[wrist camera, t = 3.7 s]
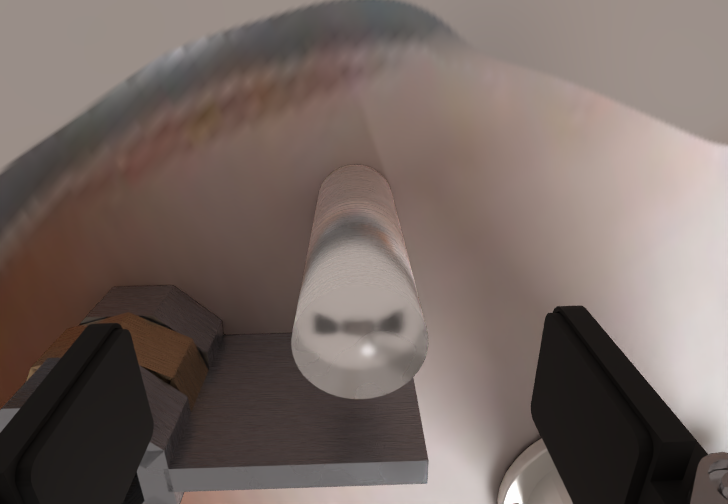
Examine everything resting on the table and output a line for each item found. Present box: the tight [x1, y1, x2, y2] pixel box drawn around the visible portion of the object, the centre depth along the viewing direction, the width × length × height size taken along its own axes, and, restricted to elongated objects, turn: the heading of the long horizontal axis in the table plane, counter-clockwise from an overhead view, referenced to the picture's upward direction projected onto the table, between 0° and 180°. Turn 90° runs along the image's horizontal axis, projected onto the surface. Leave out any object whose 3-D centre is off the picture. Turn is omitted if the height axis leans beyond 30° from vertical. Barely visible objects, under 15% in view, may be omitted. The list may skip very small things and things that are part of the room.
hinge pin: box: [291, 164, 428, 399], centre depth 19 cm, size 4×4×12 cm
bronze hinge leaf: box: [26, 312, 209, 412], centre depth 25 cm, size 17×7×9 cm, turn 151°
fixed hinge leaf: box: [0, 285, 428, 504], centre depth 23 cm, size 17×7×9 cm, turn 91°
